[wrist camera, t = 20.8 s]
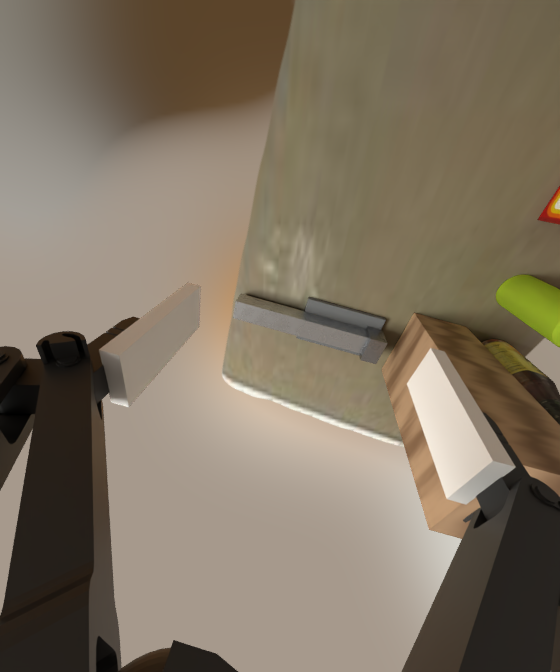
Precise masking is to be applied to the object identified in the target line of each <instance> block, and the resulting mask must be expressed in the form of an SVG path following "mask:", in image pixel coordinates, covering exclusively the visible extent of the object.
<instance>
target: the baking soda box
mask: <svg viewBox="0 0 560 672" xmlns="http://www.w3.org/2000/svg"><path fill="white" fill-rule="evenodd" d="M538 220H541V221H545V222H550V223H555V224H560V186H559V188H558V189H557V191H556V192H555V194H554V196H553V197H552V199H551V200H550V202H549V203H548V205H547V206H546V208H545V209H544V211H543V212H542V214H541V215H540V217H539V218H538Z"/></svg>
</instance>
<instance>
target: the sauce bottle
mask: <svg viewBox="0 0 560 672" xmlns="http://www.w3.org/2000/svg"><path fill="white" fill-rule="evenodd" d="M482 344H483V345H484V346H485V347H486V348H487V349H488V350H489V351H490V352H491V353H492V354H493V355H494V357H495V358H496V359H497V360H498V361H499V362H500V363H501V364H502V365H503V366H504V367H505V368H506V369H507V370H508V371H509V372H510V373H511V374H512V375H513V376H514V377H515V379H516V380H517V381H518V382H519V383H520V384H521V385H522V386H523V387H524V388H525V389H526V390H527V391H528V392H529V393H530V394H531V395H532V396H533V397H534V398H535V400H536V401H537V402H538V403H539V404H540V405H541V406H542V407H543V408H544V409H545V410H546V411H547V412H548V413H549V414H550V415H551V416H552V417H553V418H554V419H555V420H556V422H557V423H558V424H559V425H560V395H559V392H558V390H557V388H556V385H555V383H554V382H553V381H551V379H549V377H547V376H546V375H545V374H544V373H543V372H541V371H540V370H539V369H538V368H537V367H536V366H534V365H533V364H532V363H531V362H530V361H529V360H527V359H526V358H525V357H524V356H523V355H522V354H520V353H519V352H518V351H517V350H516V349H515V348H513V347H512V346H511V345H510V344H508V343H506V342H505V341H502V340H497V339H490V340H486V341H484V342H482Z"/></svg>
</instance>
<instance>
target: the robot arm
mask: <svg viewBox="0 0 560 672" xmlns="http://www.w3.org/2000/svg"><path fill="white" fill-rule="evenodd" d="M200 292H201V286H199V285H195V284H192V283H186V284H185V285H184V286H182V287H181V288H180V289H179V290H177V291H176V292H175V293H173V294H172V295H170V296H169V297H168V298H166V299H165V300H164V301H163V302H161V303H160V304H159V305H157V306H156V307H155V308H153V309H152V310H151V311H149V312H148V313H147V314H145V315H144V316H143V317H141V318H136V317H131V318H128V319H125V320H122V321H121V322H119V323H118V324H117V325H115V326H114V327H113V328H111V329H109V330H108V331H106V333H104V334H102V335H101V336H99V337H98V338H96V339H95V340H94V341H92V342H91V343H89V344H88V345H87V343H86V339H85V337H84V336H83V335H82V334H80V333H77V332H72V331H69V332H67V331H66V332H64V331H63V332H58V333H53V334H51V335H48V336H45V337H44V338H42V339H41V340H39V341H38V343H37V345H36V347H37V349H38V352H39V354H40V357H41V359H24V357H23V355H22V353H21V351H20V350H19V349H17V348H15V347H7V346H4V347H0V490H1V488H2V486H3V484H4V482H5V480H6V478H7V477H8V474H9V473H10V471H11V469H12V467H13V465H14V463H15V461H16V459H17V457H18V455H19V454H20V452H21V450H22V448H23V446H24V444H25V442H26V440H27V438H28V436H29V434H30V432H31V430H32V429H33V431H32V437H31V443H30V449H29V455H28V461H27V467H26V473H25V479H24V485H23V491H22V497H21V503H20V509H19V515H18V521H17V527H16V533H15V539H14V545H13V551H12V557H11V563H10V569H9V576H8V581H7V587H6V593H5V599H4V604H3V609H2V613H1V615H0V672H238V671H236V670H235V669H234V668H233V667H232V666H230V665H229V664H228V663H227V662H226V661H225V660H223V659H222V658H221V657H220V656H219V655H217V654H215V653H212V652H209V651H206V650H202V649H200V648H197V647H193V646H190V645H187V644H184V643H181V642H178V641H175V640H174V641H173V643H172V646H171V648H165V649H159V650H156V651H153V652H150V653H147V654H145V655H143V656H141V657H139V658H137V659H135V660H133V661H132V662H130V663H129V664H127V665H126V666H124V667H123V668H121V655H120V654H121V653H120V638H119V627H118V619H117V613H116V608H115V601H114V586H113V570H112V554H111V553H112V552H111V536H110V518H109V500H108V484H107V466H106V449H105V432H104V414H103V403H102V399H103V398H104V397H105V396H106V395H107V394H108V393H109V395H110V399H111V402H112V403H115V404H119V405H122V406H126V407H130V406H131V405H132V403H133V402H134V401H135V400H136V399H137V397H138V396H139V395H140V394H141V393H142V392H143V391H144V390H145V388H146V387H147V386H148V385H149V384H150V383H151V382H152V380H153V379H154V378H155V377H156V376H157V375H158V373H159V372H160V371H161V370H162V369H163V368H164V367H165V365H166V364H167V363H168V362H169V361H170V360H171V359H172V357H173V356H174V355H175V354H176V352H178V350H179V349H180V348H181V347H182V346H183V345H184V344H185V342H186V341H187V340H188V339H189V338H190V337H191V335H192V334H193V333H194V332H195V331H196V330H197V329H198V328H199V321H200ZM407 386H408V388H409V391H410V394H411V397H412V400H413V403H414V406H415V409H416V412H417V415H418V417H419V420H420V423H421V426H422V429H423V432H424V435H425V438H426V441H427V444H428V446H429V449H430V452H431V455H432V458H433V461H434V464H435V467H436V470H437V472H438V475H439V478H440V481H441V484H442V487H443V490H444V493H445V496H446V499H448V500H452V501H455V502H459V503H462V504H468V503H469V502H470V501H472V500H473V499H474V498H477V500H478V502H479V505H480V508H478V509H477V510H475V511H474V512H473V513H471V514H470V515H468V516H467V517H466V518H464V519H463V521H464V522H465V523H466V522H468V521H470V523H469V525H468V527H467V529H466V532H465V534H464V536H463V538H462V540H461V543H460V545H459V547H458V549H457V551H456V554H455V556H454V558H453V560H452V562H451V565H450V567H449V569H448V571H447V573H446V576H445V578H444V580H443V582H442V584H441V586H440V589H439V591H438V593H437V595H436V597H435V600H434V602H433V604H432V606H431V608H430V611H429V613H428V615H427V617H426V619H425V622H424V624H423V626H422V628H421V630H420V633H419V635H418V637H417V639H416V642H415V643H414V646H413V648H412V650H411V652H410V655H409V657H408V659H407V661H406V663H405V665H404V668H403V670H402V672H560V497H559V496H558V494H557V493H556V492H555V491H554V490H552V489H551V488H550V487H549V486H548V485H546V484H545V483H543V482H542V481H540V480H538V479H536V478H533V477H531V476H530V475H529V474H528V472H527V470H526V469H525V467H524V466H523V464H522V463H521V461H520V460H519V458H518V457H517V455H516V453H515V452H514V450H513V449H512V447H511V446H510V445H508V441H507V440H506V438H505V436H503V433H502V432H501V430H500V429H499V427H498V426H497V424H496V423H495V422H494V421H493V420H492V419H491V418H490V417H489V416H488V415H487V414H486V413H484V412H482V411H481V410H480V408H479V407H478V405H477V403H476V402H475V400H474V398H473V397H472V395H471V394H470V392H469V390H468V389H467V387H466V385H465V384H464V382H463V381H462V379H461V377H460V376H459V374H458V372H457V371H456V369H455V368H454V366H453V364H452V363H451V361H450V359H449V358H448V356H447V355H446V353H445V351H441V350H437V349H433V348H430V350H429V351H428V353H427V354H426V356H425V357H424V359H423V360H422V362H421V363H420V365H419V366H418V368H417V369H416V371H415V372H414V374H413V375H412V377H411V378H410V380H409V381H408V383H407Z"/></svg>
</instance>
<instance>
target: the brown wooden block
mask: <svg viewBox="0 0 560 672" xmlns="http://www.w3.org/2000/svg"><path fill="white" fill-rule="evenodd" d="M430 348H433V349H437V350H441V351H445V353H446V355H447V356H448V358H449V359H450V361H451V363H452V364H453V366H454V368H455V369H456V371H457V372H458V374H459V376H460V377H461V379H462V381H463V382H464V384H465V385H466V387H467V389H468V390H469V392H470V394H471V395H472V397H473V398H474V400H475V402H476V403H477V405H478V407H479V408H480V410H481V411H482V412H484V413H486V414H487V415H488V416H489V417H490V418H491V419H492V420H493V421H494V422H495V423H496V424H497V426H498V427H499V429H500V430H501V432H502V433H503V436H505V438H506V440H507V441H508V445H510V446H511V447H512V449H513V450H514V452H515V453H516V455H517V457H518V458H519V460H520V461H521V463H522V464H523V466H524V467H525V469H526V470H527V472H528V474H529V475H530V476H531V477H533V478H536V479H538V480H540V481H542V482H543V483H545V484H546V485H548V486H549V487H550V488H551V489H552V490H554V491H555V492H556V493H557V494H558V496H559V497H560V425H559V424H558V423H557V422H556V420H555V419H554V418H553V417H552V416H551V415H550V414H549V413H548V412H547V411H546V410H545V409H544V408H543V407H542V406H541V405H540V404H539V403H538V402H537V401H536V400H535V398H534V397H533V396H532V395H531V394H530V393H529V392H528V391H527V390H526V389H525V388H524V387H523V386H522V385H521V384H520V383H519V382H518V381H517V380H516V379H515V377H514V376H513V375H512V374H511V373H510V372H509V371H508V370H507V369H506V368H505V367H504V366H503V365H502V364H501V363H500V362H499V361H498V360H497V359H496V358H495V357H494V355H493V354H492V353H491V352H490V351H489V350H488V349H487V348H486V347H485V346H484V345H483V344H482V343H481V342H480V341H479V340H478V339H477V338H476V337H475V336H474V334H473V333H472V332H471V331H470V330H469V329H468V328H467V327H464V326H461V325H457V324H453V323H450V322H446V321H443V320H439V319H435V318H432V317H428V316H424V315H421V314H417V313H414V314H413V316H412V317H411V319H410V321H409V322H408V324H407V326H406V328H405V329H404V331H403V333H402V335H401V336H400V338H399V340H398V342H397V343H396V345H395V347H394V349H393V350H392V352H391V354H390V355H389V357H388V359H387V361H386V362H385V364H384V366H383V368H382V372H383V376H384V379H385V383H386V386H387V389H388V393H389V396H390V399H391V403H392V406H393V409H394V413H395V416H396V420H397V423H398V426H399V430H400V433H401V436H402V440H403V443H404V447H405V450H406V453H407V457H408V460H409V463H410V467H411V470H412V473H413V477H414V480H415V483H416V487H417V490H418V494H419V497H420V500H421V504H422V507H423V510H424V514H425V517H426V521H427V524H428V527H429V530H432V531H436V532H439V533H443V534H446V535H450V536H454V537H457V538H461V539H462V538H463V536H464V534H465V532H466V529H467V527H468V525H469V523H470V521H468V522H466V523H465V522H464V521H463V519H464V518H466V517H467V516H468V515H470V514H471V513H473V512H474V511H475V510H477V509H478V508H480V505H479V502H478V500H477V498H474V499H473V500H472V501H470V502H469V503H468V504H462V503H459V502H455V501H452V500H448V499H446V496H445V493H444V490H443V487H442V484H441V481H440V478H439V475H438V472H437V470H436V467H435V464H434V461H433V458H432V455H431V452H430V449H429V446H428V444H427V441H426V438H425V435H424V432H423V429H422V426H421V423H420V420H419V417H418V415H417V412H416V409H415V406H414V403H413V400H412V397H411V394H410V391H409V388H408V386H407V383H408V381H409V380H410V378H411V377H412V375H413V374H414V372H415V371H416V369H417V368H418V366H419V365H420V363H421V362H422V360H423V359H424V357H425V356H426V354H427V353H428V351H429V350H430Z"/></svg>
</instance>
